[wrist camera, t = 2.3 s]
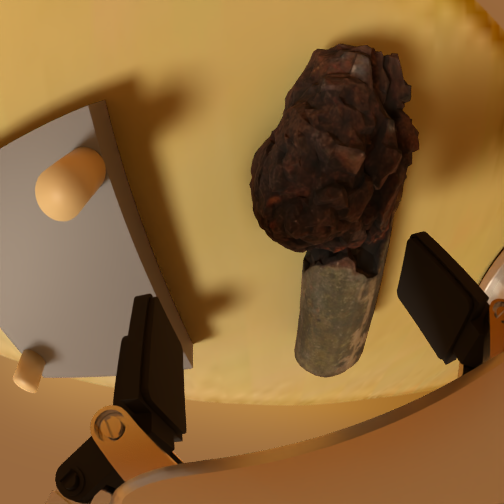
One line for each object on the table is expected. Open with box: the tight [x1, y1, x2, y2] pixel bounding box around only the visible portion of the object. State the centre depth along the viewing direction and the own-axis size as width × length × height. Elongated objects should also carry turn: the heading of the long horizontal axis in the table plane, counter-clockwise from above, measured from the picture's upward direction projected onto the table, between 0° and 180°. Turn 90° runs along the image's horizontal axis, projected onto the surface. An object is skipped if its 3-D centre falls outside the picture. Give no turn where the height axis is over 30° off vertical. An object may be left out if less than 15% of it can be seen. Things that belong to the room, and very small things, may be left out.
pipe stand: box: [0, 100, 193, 393], centre depth 13 cm, size 13×16×4 cm
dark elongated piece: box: [249, 44, 419, 377], centre depth 13 cm, size 18×7×6 cm, turn 5°
